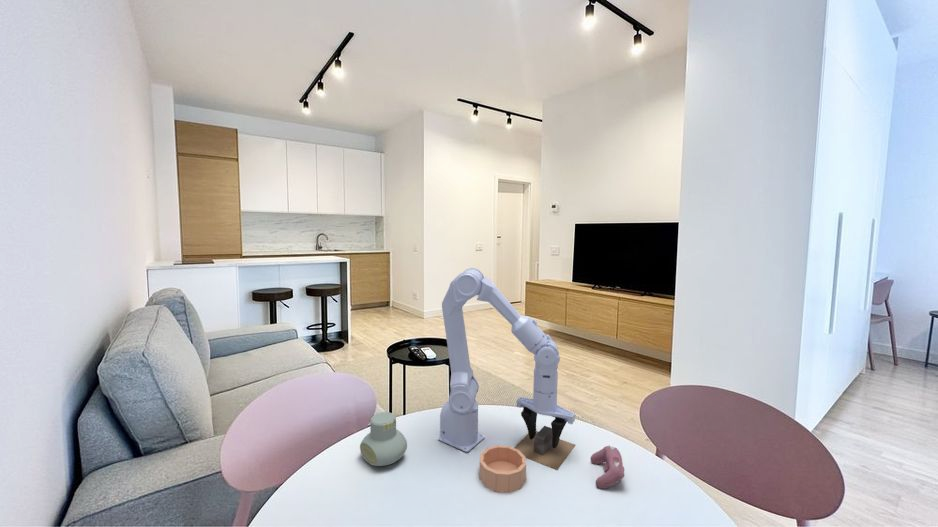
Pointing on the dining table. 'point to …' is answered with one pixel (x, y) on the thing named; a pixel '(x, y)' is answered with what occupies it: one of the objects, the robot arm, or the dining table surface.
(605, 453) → the video game controller
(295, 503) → the dining table surface
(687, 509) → the dining table surface
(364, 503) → the dining table surface
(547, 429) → the lid
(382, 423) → the air freshener
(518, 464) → the bowl
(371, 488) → the dining table surface
